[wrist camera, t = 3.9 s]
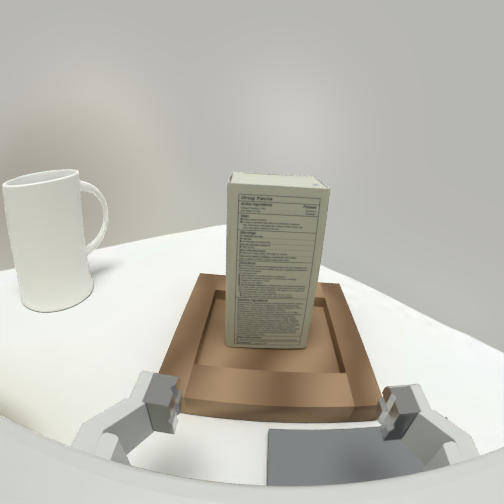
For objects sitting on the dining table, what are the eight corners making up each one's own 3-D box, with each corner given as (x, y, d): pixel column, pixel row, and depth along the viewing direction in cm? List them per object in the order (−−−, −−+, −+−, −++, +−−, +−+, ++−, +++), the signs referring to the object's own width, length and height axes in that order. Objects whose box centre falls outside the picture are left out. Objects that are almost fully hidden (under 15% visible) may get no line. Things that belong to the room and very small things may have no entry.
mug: (101, 259, 36) (94, 162, 32) (133, 285, 31) (125, 168, 27) (16, 286, 28) (-3, 180, 23) (30, 322, 23) (2, 191, 18)
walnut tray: (155, 408, 17) (151, 391, 17) (200, 287, 32) (200, 273, 31) (376, 420, 17) (384, 404, 16) (336, 297, 32) (339, 283, 31)
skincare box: (298, 318, 27) (318, 176, 22) (306, 352, 23) (334, 188, 18) (225, 315, 26) (231, 169, 22) (221, 349, 22) (227, 179, 18)
